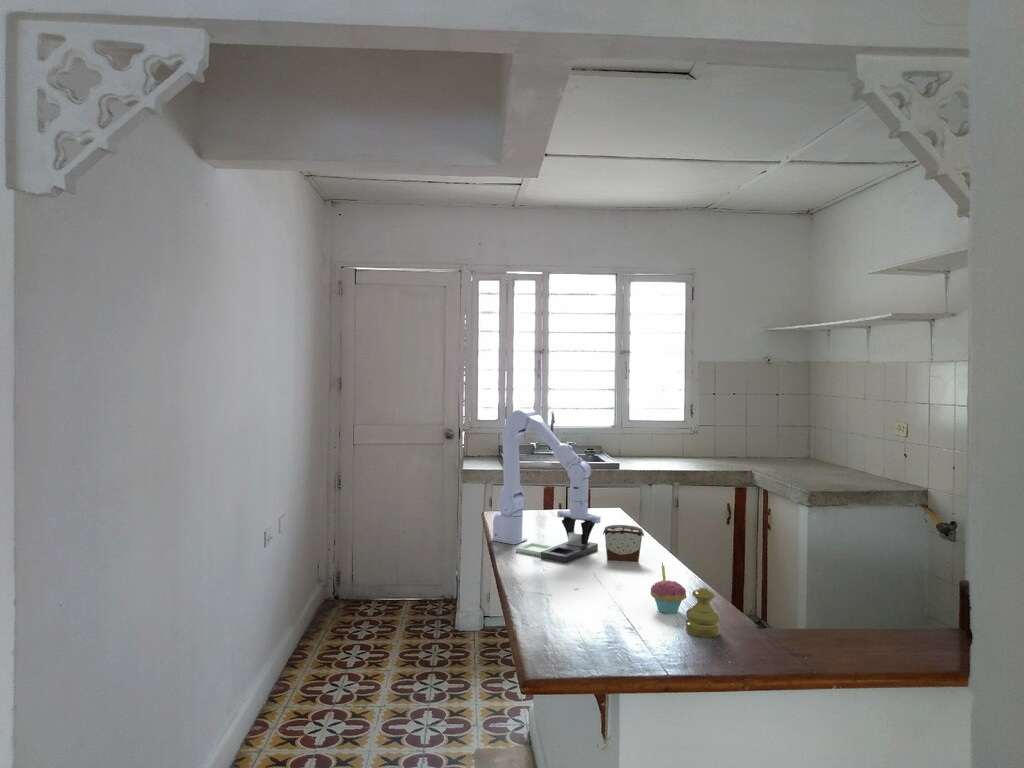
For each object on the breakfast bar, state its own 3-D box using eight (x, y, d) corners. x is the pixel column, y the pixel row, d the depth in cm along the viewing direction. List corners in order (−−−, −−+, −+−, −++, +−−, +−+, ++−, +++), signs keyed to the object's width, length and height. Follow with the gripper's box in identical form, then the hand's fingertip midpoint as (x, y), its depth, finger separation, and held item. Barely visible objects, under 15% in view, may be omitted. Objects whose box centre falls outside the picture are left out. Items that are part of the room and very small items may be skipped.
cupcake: (665, 618, 172) (666, 568, 172) (642, 607, 180) (643, 559, 179) (693, 613, 176) (694, 564, 176) (670, 602, 184) (671, 555, 183)
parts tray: (516, 551, 229) (516, 547, 229) (531, 546, 236) (531, 541, 236) (540, 556, 224) (540, 552, 224) (555, 550, 231) (555, 546, 231)
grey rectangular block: (568, 551, 231) (568, 532, 231) (575, 548, 235) (575, 529, 235) (580, 553, 229) (581, 534, 228) (587, 550, 232) (587, 531, 232)
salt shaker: (714, 641, 159) (715, 596, 158) (681, 634, 162) (682, 589, 162) (724, 631, 165) (725, 587, 164) (691, 624, 169) (693, 581, 168)
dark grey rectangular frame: (540, 558, 222) (540, 551, 222) (573, 545, 238) (573, 539, 238) (566, 563, 217) (566, 556, 217) (597, 549, 233) (597, 543, 233)
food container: (641, 557, 225) (642, 525, 225) (643, 563, 219) (644, 529, 219) (601, 555, 227) (602, 523, 226) (602, 561, 221) (603, 528, 220)
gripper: (605, 501, 230) (604, 543, 231) (565, 495, 239) (564, 536, 239) (594, 504, 225) (593, 548, 225) (554, 498, 233) (553, 540, 233)
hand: (577, 542), depth 232 cm, fingers closed on grey rectangular block, 4 cm apart
